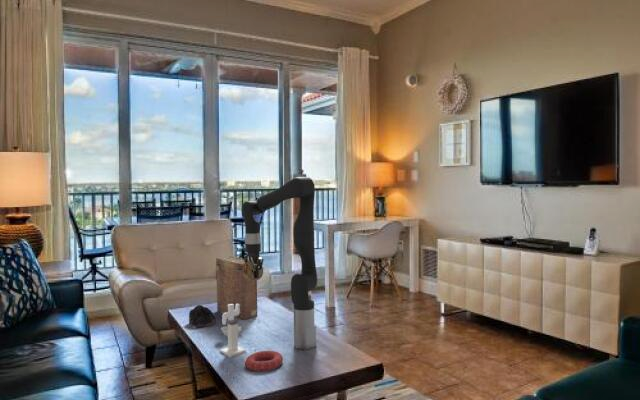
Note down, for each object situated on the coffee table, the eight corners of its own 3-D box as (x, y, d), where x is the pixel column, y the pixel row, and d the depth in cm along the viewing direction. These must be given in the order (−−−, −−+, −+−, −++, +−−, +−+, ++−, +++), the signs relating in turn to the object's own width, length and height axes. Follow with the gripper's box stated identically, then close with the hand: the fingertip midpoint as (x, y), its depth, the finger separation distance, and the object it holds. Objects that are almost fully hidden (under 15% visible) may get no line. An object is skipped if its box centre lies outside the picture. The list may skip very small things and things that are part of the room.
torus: (268, 354, 200) (268, 346, 199) (290, 364, 190) (290, 355, 190) (237, 366, 188) (237, 357, 188) (259, 376, 178) (259, 367, 178)
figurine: (218, 335, 223) (218, 304, 222) (234, 330, 230) (234, 300, 229) (227, 339, 218) (227, 307, 217) (244, 334, 225) (243, 303, 224)
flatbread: (246, 283, 221) (245, 262, 220) (242, 282, 224) (241, 261, 223) (264, 280, 227) (264, 259, 227) (260, 278, 230) (260, 258, 229)
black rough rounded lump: (212, 329, 234) (213, 309, 234) (184, 328, 234) (186, 307, 234) (216, 323, 248) (218, 304, 248) (190, 321, 247) (192, 302, 247)
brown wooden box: (217, 310, 264) (215, 258, 262) (230, 307, 271) (229, 256, 269) (243, 320, 246) (242, 264, 244) (257, 316, 253) (256, 261, 251)
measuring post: (246, 352, 202) (245, 320, 201) (230, 357, 197) (229, 324, 196) (236, 347, 208) (235, 316, 207) (220, 351, 202) (219, 320, 202)
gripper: (268, 242, 222) (268, 278, 223) (251, 240, 232) (251, 274, 233) (255, 244, 217) (255, 281, 217) (238, 241, 227) (239, 276, 228)
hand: (253, 277), depth 225 cm, fingers closed on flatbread, 3 cm apart
